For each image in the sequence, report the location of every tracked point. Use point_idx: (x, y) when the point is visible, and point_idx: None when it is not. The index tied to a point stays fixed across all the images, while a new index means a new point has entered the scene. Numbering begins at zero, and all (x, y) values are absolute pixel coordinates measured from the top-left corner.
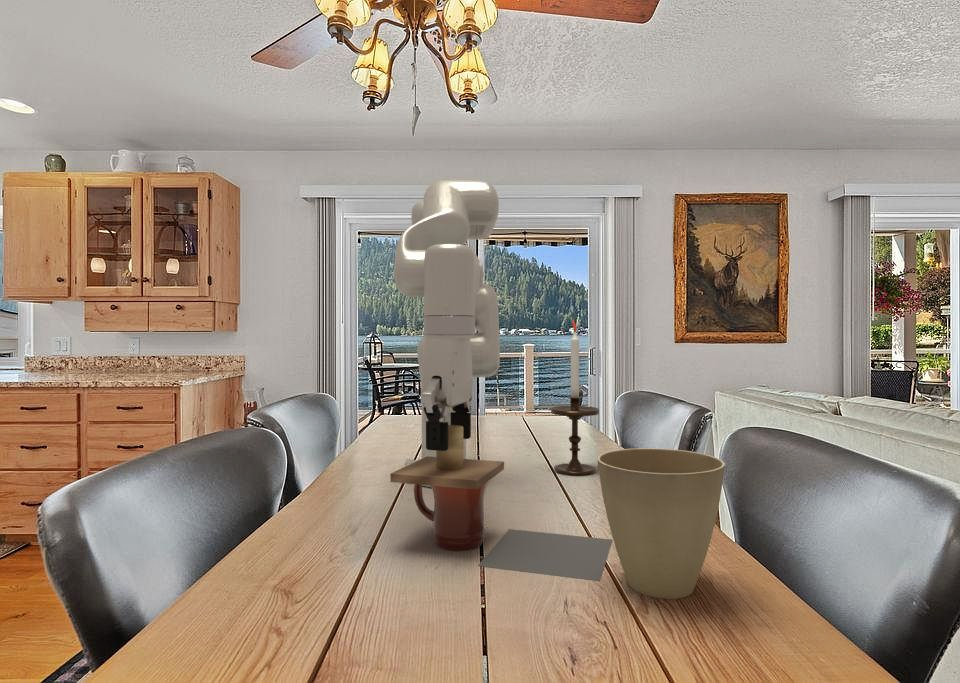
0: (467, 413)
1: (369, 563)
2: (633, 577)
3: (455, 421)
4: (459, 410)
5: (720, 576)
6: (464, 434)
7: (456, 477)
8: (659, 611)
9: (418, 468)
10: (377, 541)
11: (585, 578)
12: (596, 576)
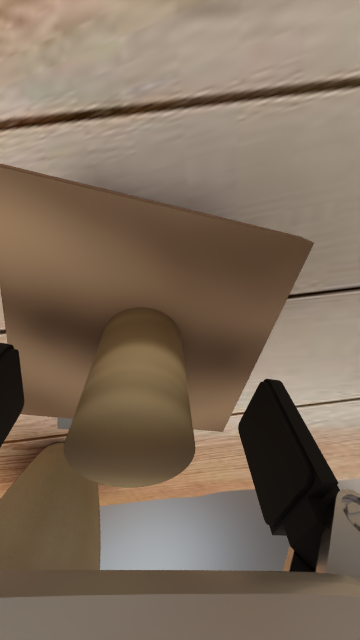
0: (276, 528)
1: (17, 133)
2: (34, 460)
3: (278, 452)
4: (302, 525)
5: (109, 486)
6: (245, 428)
7: (27, 373)
8: (21, 455)
9: (105, 256)
10: (143, 112)
11: (59, 419)
12: (67, 426)
